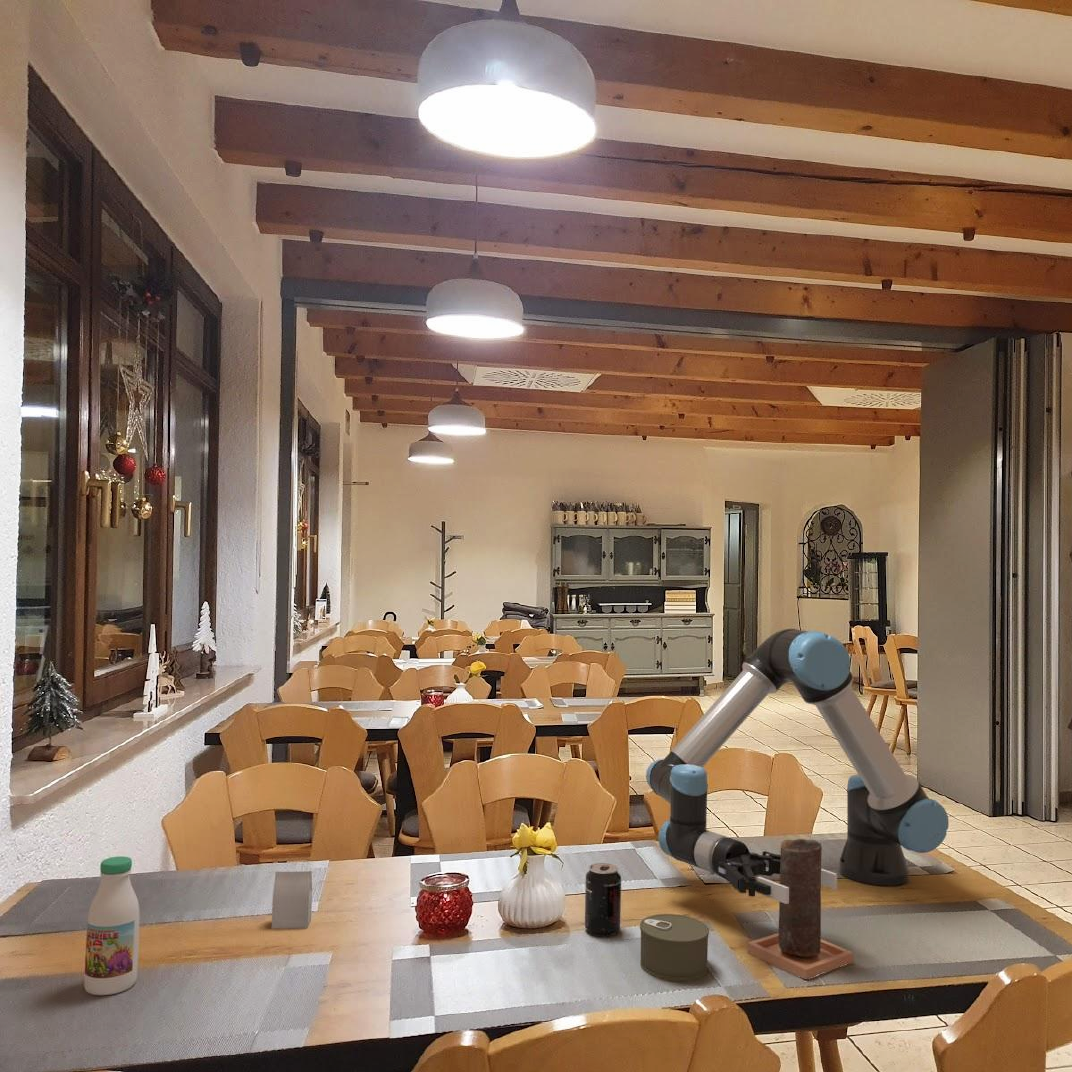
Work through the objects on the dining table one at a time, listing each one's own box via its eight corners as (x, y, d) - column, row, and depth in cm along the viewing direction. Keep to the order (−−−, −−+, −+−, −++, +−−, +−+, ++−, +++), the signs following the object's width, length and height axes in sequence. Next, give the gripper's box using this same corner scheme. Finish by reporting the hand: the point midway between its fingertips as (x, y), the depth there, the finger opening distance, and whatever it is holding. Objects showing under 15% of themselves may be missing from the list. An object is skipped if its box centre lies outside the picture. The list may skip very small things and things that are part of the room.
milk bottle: (95, 975, 145) (101, 852, 146) (144, 974, 145) (149, 852, 146) (75, 997, 137) (81, 867, 138) (126, 996, 138) (132, 867, 139)
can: (693, 989, 145) (694, 946, 145) (627, 970, 151) (628, 930, 151) (718, 962, 155) (718, 923, 155) (655, 946, 161) (656, 908, 162)
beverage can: (625, 928, 169) (626, 865, 170) (613, 941, 163) (614, 876, 163) (592, 921, 172) (593, 860, 173) (579, 934, 166) (580, 870, 166)
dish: (793, 937, 167) (793, 927, 167) (852, 962, 156) (853, 952, 156) (747, 952, 159) (747, 942, 159) (806, 980, 149) (806, 969, 149)
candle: (823, 965, 153) (823, 849, 154) (779, 960, 155) (780, 846, 156) (818, 947, 161) (818, 837, 162) (776, 943, 162) (777, 834, 163)
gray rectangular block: (307, 928, 166) (309, 874, 166) (271, 928, 165) (273, 875, 166) (311, 920, 169) (312, 868, 170) (275, 921, 169) (277, 868, 169)
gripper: (764, 864, 181) (854, 896, 163) (677, 886, 166) (765, 924, 149) (765, 827, 181) (854, 855, 164) (678, 846, 166) (766, 879, 149)
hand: (812, 888), depth 156 cm, fingers open, 13 cm apart
